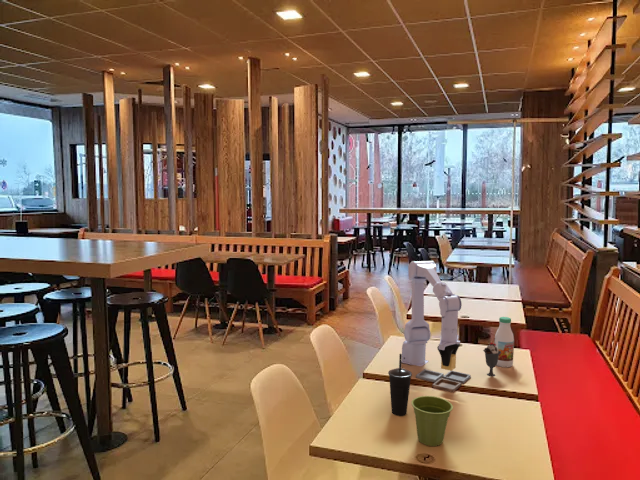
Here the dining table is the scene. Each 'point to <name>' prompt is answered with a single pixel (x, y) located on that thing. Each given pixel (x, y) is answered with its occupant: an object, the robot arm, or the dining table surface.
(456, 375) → the back dish
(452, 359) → the letter cube
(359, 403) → the dining table surface
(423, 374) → the left dish
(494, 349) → the sundae
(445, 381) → the front dish
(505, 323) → the milk bottle
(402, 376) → the drinking cup
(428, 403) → the plant pot
